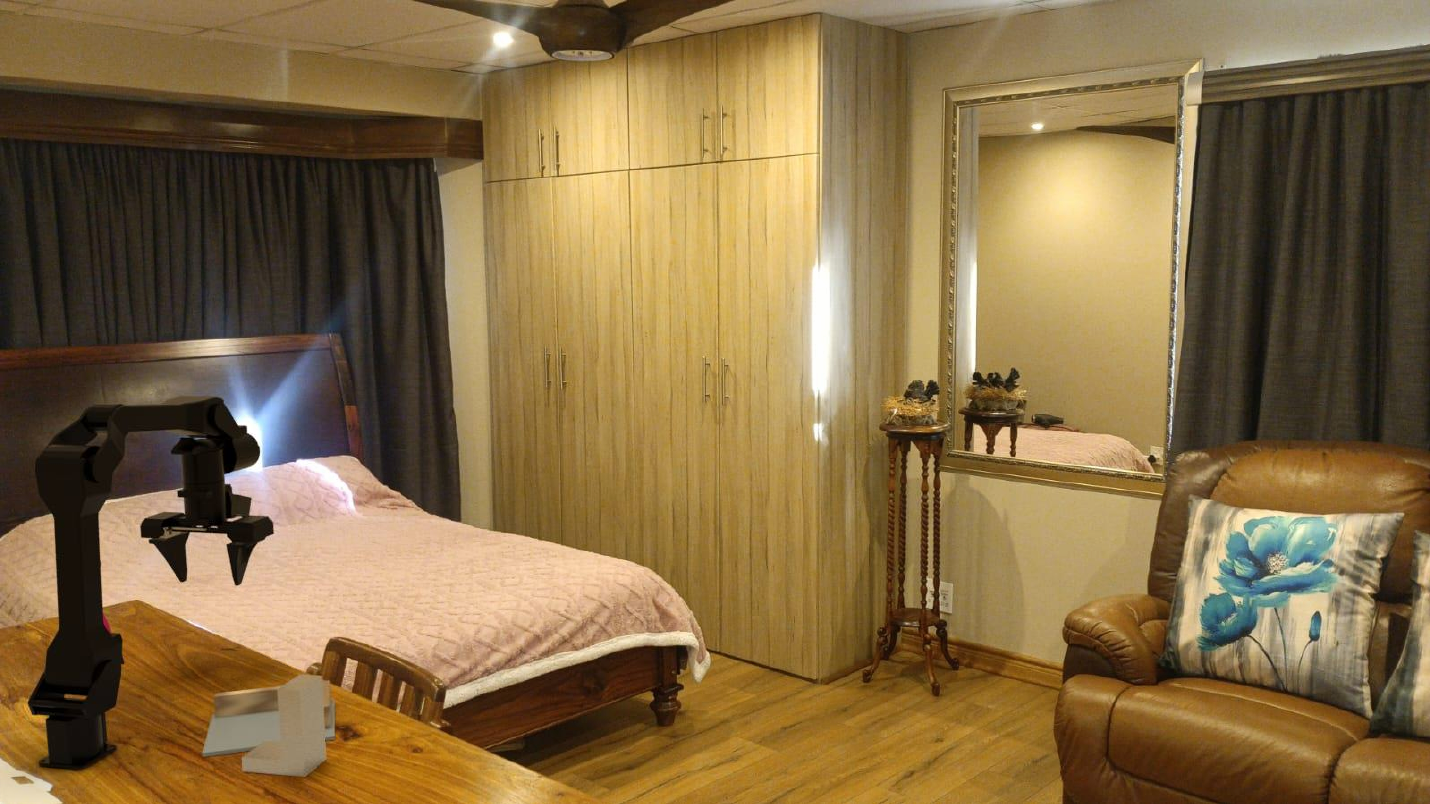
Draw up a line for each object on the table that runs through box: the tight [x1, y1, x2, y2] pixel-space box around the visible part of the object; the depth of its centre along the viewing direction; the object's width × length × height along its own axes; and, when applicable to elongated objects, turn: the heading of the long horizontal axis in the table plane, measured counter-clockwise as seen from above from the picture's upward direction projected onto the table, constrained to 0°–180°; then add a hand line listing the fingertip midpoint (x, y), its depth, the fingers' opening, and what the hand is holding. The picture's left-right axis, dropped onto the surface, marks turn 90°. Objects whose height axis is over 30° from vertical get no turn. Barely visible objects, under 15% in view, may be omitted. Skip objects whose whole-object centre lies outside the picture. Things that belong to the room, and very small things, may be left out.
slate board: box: [201, 699, 336, 758], centre depth 156 cm, size 16×13×1 cm
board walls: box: [213, 680, 332, 728], centre depth 158 cm, size 15×10×4 cm, turn 108°
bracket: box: [241, 674, 328, 778], centre depth 145 cm, size 8×5×11 cm, turn 78°
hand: (210, 583), depth 174 cm, fingers open, 9 cm apart
